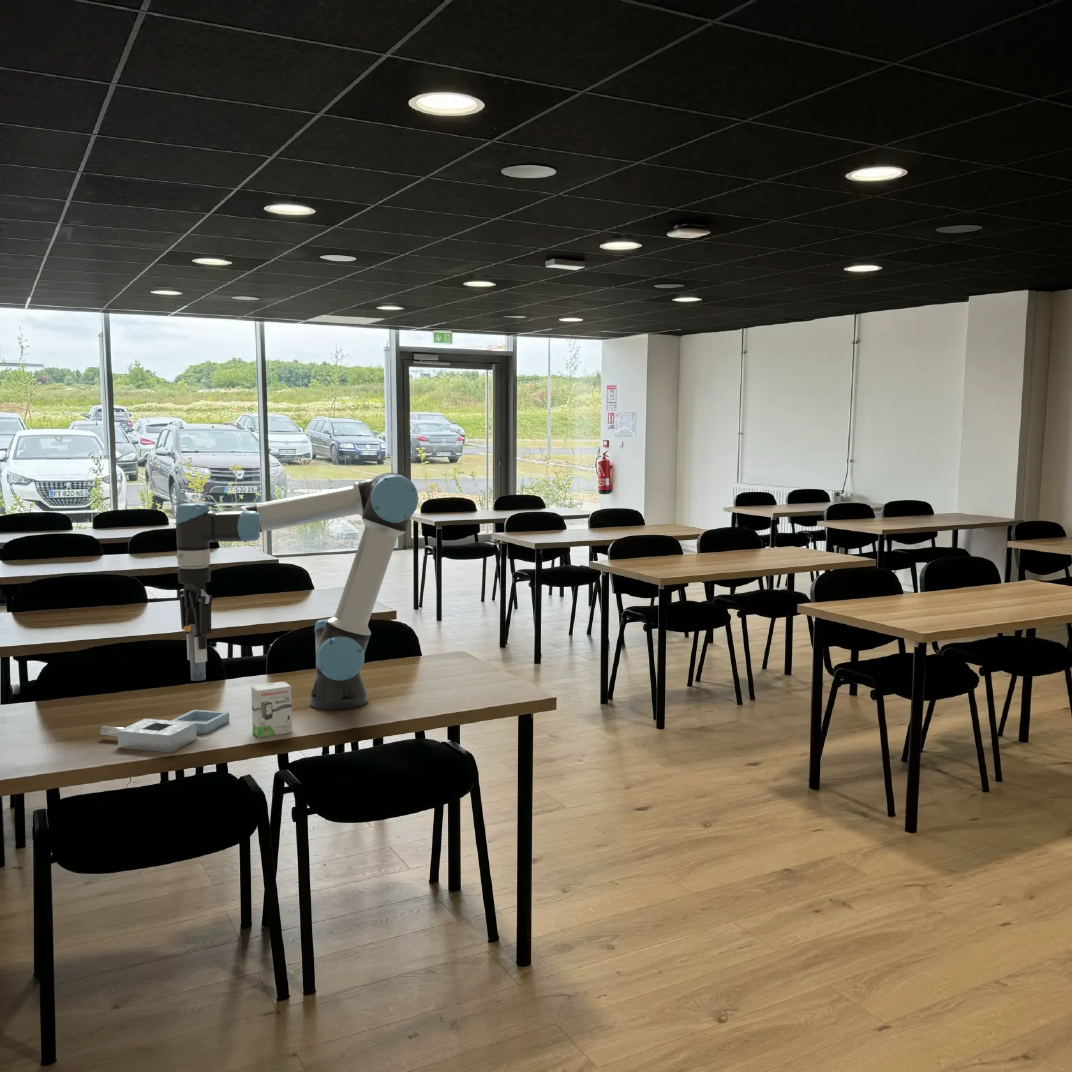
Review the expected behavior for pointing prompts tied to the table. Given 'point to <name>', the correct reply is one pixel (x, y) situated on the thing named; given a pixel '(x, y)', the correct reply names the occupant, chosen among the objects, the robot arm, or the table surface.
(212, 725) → the parts tray
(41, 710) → the table surface
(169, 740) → the block
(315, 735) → the table surface
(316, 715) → the table surface
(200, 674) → the pin
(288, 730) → the ink box
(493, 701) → the table surface
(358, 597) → the robot arm
